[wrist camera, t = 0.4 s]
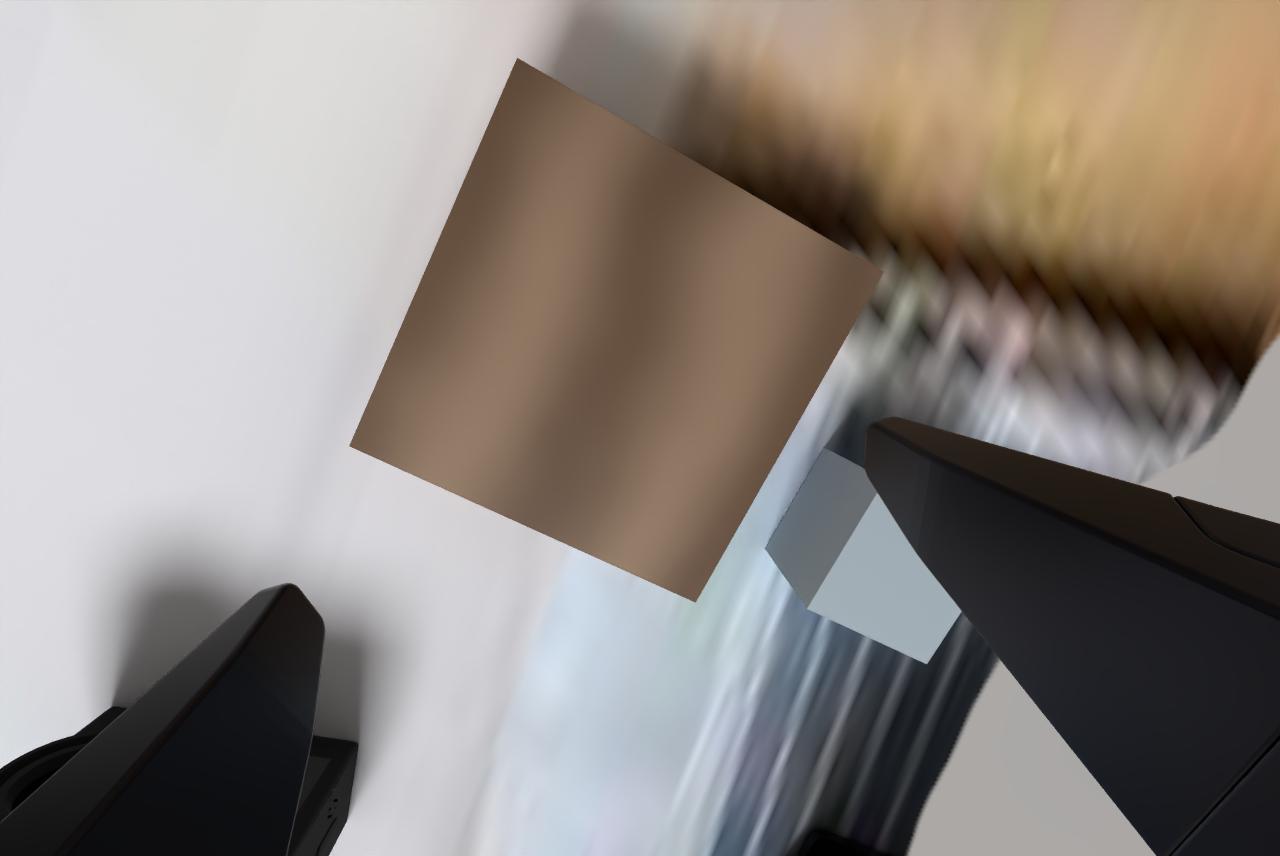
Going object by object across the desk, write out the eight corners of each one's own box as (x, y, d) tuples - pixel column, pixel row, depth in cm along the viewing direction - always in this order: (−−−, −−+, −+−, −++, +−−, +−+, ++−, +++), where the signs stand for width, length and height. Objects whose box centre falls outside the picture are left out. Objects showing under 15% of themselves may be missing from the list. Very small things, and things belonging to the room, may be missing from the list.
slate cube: (920, 497, 23) (1005, 544, 18) (860, 593, 23) (926, 664, 19) (822, 446, 22) (884, 481, 17) (764, 547, 23) (807, 608, 18)
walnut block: (833, 281, 21) (883, 271, 17) (680, 555, 23) (695, 602, 19) (536, 112, 19) (517, 57, 15) (397, 424, 21) (349, 445, 17)
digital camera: (366, 717, 23) (264, 881, 16) (350, 820, 24) (247, 1016, 17) (113, 678, 22) (-108, 837, 15) (107, 787, 23) (-105, 982, 16)
